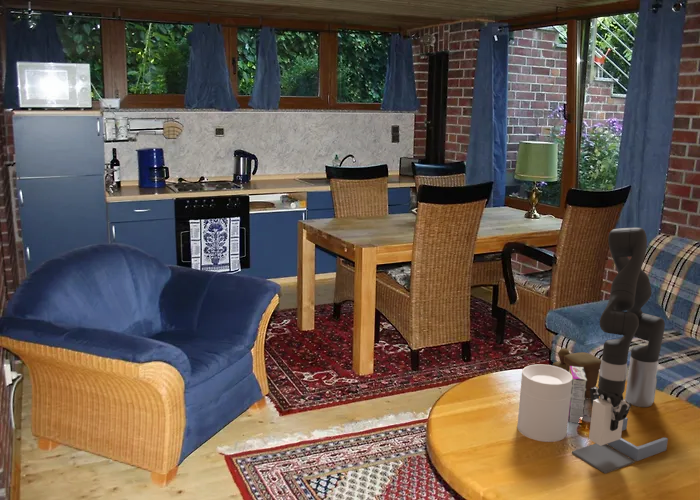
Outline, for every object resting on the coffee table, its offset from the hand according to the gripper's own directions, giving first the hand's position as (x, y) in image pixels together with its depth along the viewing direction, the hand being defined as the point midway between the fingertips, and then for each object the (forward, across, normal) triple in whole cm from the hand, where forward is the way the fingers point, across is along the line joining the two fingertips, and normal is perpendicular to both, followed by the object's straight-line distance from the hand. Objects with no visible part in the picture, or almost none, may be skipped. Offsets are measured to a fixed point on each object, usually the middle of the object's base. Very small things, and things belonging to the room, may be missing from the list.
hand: (606, 426), depth 210 cm
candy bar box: (+11, -24, +13) cm, 29 cm away
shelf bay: (+11, -2, +15) cm, 19 cm away
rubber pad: (+11, 0, 0) cm, 11 cm away
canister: (+11, -22, -4) cm, 25 cm away
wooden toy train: (+11, -37, +25) cm, 46 cm away
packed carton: (+4, 0, 0) cm, 4 cm away
